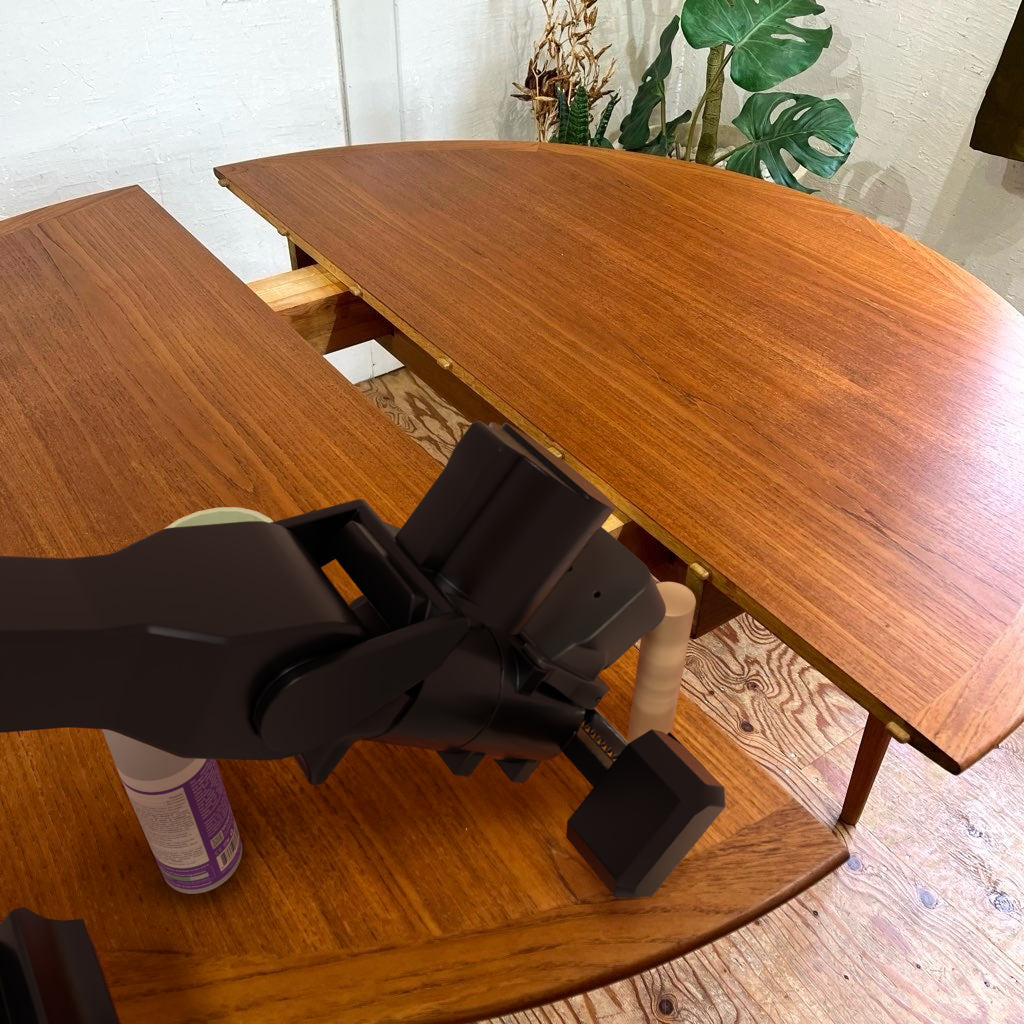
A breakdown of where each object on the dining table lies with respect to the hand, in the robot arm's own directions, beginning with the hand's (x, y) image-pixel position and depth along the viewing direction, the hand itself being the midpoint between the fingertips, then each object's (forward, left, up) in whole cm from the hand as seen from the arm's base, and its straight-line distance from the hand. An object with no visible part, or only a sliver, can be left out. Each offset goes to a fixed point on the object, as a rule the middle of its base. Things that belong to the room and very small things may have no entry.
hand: (629, 723), depth 52 cm
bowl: (+11, +33, -10) cm, 37 cm away
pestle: (+1, -1, -10) cm, 11 cm away
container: (-9, +23, -11) cm, 27 cm away
